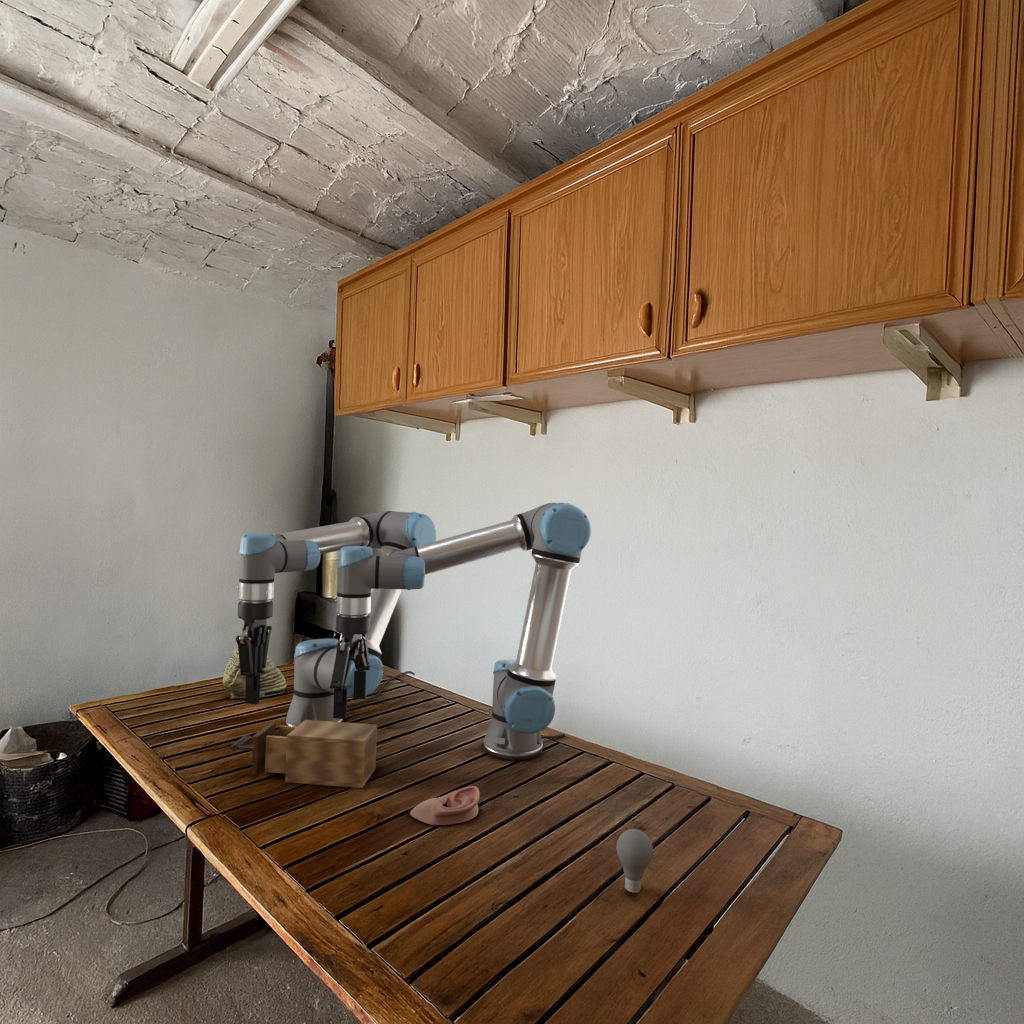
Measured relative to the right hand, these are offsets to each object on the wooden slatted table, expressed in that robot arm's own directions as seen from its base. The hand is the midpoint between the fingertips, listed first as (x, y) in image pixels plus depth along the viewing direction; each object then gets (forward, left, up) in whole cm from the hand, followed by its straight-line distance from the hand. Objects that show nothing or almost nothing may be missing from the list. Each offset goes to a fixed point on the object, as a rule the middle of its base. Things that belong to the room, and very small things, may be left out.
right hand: (350, 708), depth 144 cm
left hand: (+20, -11, 0) cm, 23 cm away
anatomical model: (-15, +23, -16) cm, 32 cm away
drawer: (+13, -8, -15) cm, 21 cm away
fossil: (+16, -68, -16) cm, 71 cm away
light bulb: (-35, +59, -16) cm, 71 cm away
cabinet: (+3, -2, -16) cm, 16 cm away
